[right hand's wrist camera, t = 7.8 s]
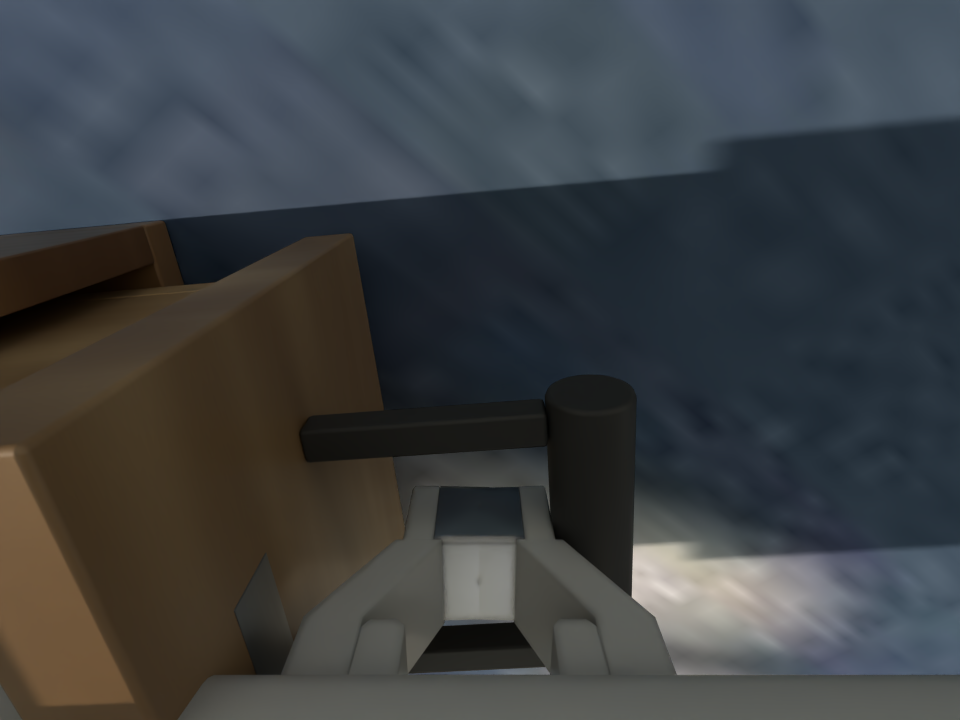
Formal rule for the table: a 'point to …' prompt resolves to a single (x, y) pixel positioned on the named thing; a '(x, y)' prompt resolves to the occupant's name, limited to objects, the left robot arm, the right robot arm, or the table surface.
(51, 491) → the drawer
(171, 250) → the cabinet
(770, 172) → the table surface
